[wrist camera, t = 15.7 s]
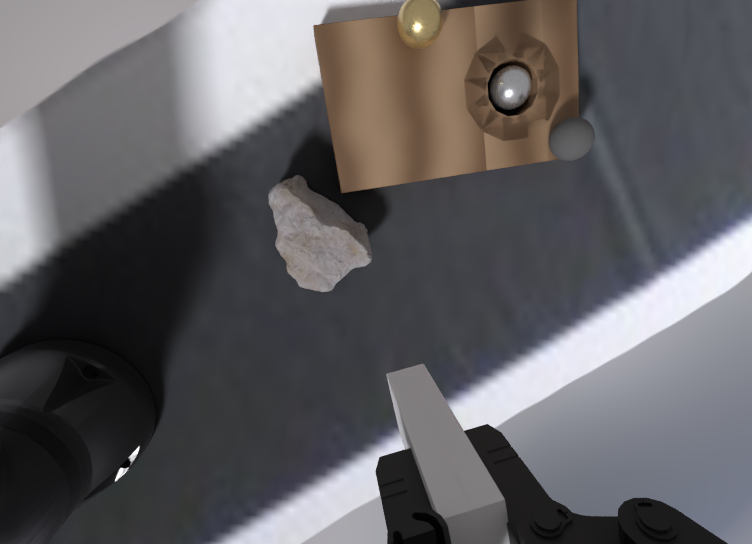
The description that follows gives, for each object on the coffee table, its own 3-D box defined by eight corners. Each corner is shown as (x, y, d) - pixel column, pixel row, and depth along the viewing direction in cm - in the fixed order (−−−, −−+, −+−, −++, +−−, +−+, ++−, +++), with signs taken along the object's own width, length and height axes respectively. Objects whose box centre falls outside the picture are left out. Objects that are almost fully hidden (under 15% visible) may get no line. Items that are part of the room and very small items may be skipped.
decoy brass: (396, 58, 31) (405, 41, 27) (390, 9, 30) (398, -14, 26) (438, 52, 31) (451, 36, 27) (433, 4, 30) (446, -19, 27)
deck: (340, 192, 35) (341, 193, 32) (314, 37, 32) (313, 25, 29) (563, 157, 37) (579, 155, 34) (558, 8, 34) (576, -6, 31)
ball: (490, 110, 32) (534, 100, 31) (486, 67, 32) (531, 55, 30) (491, 116, 35) (531, 107, 34) (488, 76, 35) (528, 66, 34)
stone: (243, 218, 34) (226, 224, 29) (310, 160, 34) (306, 155, 28) (314, 295, 37) (312, 315, 31) (378, 243, 36) (387, 253, 31)
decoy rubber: (541, 164, 34) (564, 162, 31) (539, 123, 33) (563, 116, 30) (577, 159, 34) (604, 155, 31) (576, 118, 33) (604, 110, 30)
